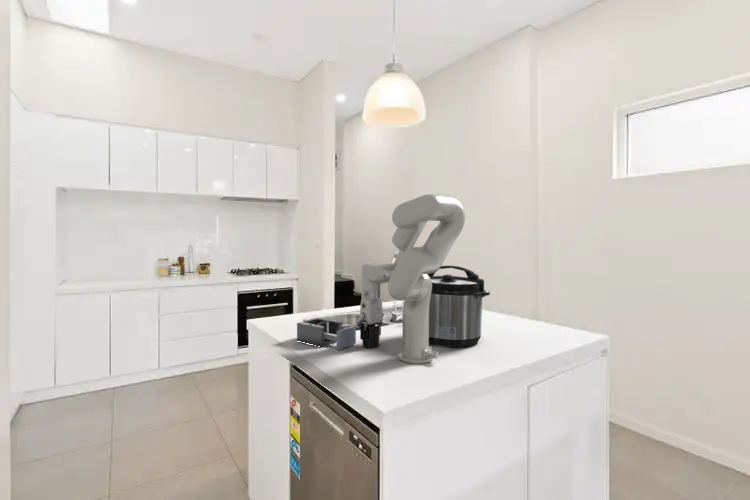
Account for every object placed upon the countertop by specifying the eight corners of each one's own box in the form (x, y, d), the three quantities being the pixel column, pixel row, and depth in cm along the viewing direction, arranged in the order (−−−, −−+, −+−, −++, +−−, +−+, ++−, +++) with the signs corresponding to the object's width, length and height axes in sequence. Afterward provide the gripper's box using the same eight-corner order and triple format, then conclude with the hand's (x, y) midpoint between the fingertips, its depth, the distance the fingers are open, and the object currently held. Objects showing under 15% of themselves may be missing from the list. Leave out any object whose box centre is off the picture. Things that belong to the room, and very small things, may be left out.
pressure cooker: (499, 341, 164) (500, 266, 162) (456, 354, 146) (457, 270, 144) (444, 328, 187) (445, 262, 186) (401, 337, 169) (401, 265, 168)
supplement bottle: (359, 347, 154) (359, 317, 154) (367, 343, 160) (367, 314, 160) (374, 349, 151) (374, 319, 151) (382, 345, 157) (382, 316, 157)
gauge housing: (341, 341, 163) (341, 321, 163) (322, 347, 154) (321, 326, 153) (317, 336, 171) (317, 317, 171) (297, 342, 162) (297, 322, 161)
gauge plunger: (355, 343, 158) (355, 322, 157) (336, 350, 148) (336, 328, 148) (331, 338, 165) (331, 318, 165) (311, 345, 155) (311, 323, 155)
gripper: (365, 298, 146) (365, 343, 147) (390, 292, 160) (390, 334, 161) (350, 296, 150) (349, 340, 151) (375, 290, 164) (375, 331, 165)
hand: (370, 337), depth 156 cm, fingers open, 8 cm apart
